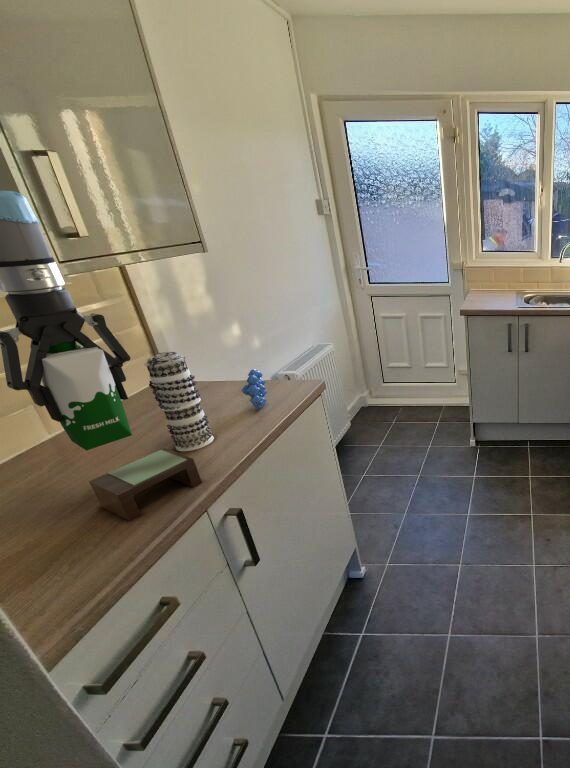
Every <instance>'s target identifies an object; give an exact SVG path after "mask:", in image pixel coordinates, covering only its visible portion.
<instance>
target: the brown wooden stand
mask: <svg viewBox="0 0 570 768" xmlns="http://www.w3.org/2000/svg"><path fill="white" fill-rule="evenodd" d="M168 478H170V479H172V480H175V481H177V482H179V483H182V484H184V485H187V486H189V487H192V488H195V487H196V486H198V485H200V484H201V483H203V481H202V478H201V476H200V473H199V471H198V468H197V465H196V461H195V460H194V457H190V456H188V455H186V454H182V453H179V452H177V451H174V450H171V449H169V448H166V447H163V448H162V449H159V450H157V451H154V452H152V453H150V454H148V455H146V456H143V457H141V458H138V459H137V460H134V461H132V462H130V463H127V464H125V465H122V466H120V467H118V468H116V469H114V470H111V471H109V472H107V473H105V474H102V475H100V476H97V477H96V478H93V479H91V480H88V483H89V485H90V487H91V489H92V491H93V492H94V495H95V497H96V499H97V500H98V503H99V505H100V507H102V508H104V509H105V510H107V511H109V512H111V513H113V514H116V515H117V516H119V517H120V518H123V519H124V520H127V521H129V522H131V521H133V520H135V519H137V518H139V517H140V516H142V513H141V511H140V509H139V507H138V505H137V502H136V500H135V499H134V495H135V494H138V493H140V492H141V491H144V490H146V489H148V488H150V487H152V486H154V485H156V484H159V483H160V482H163V481H164V480H166V479H168Z"/></svg>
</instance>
